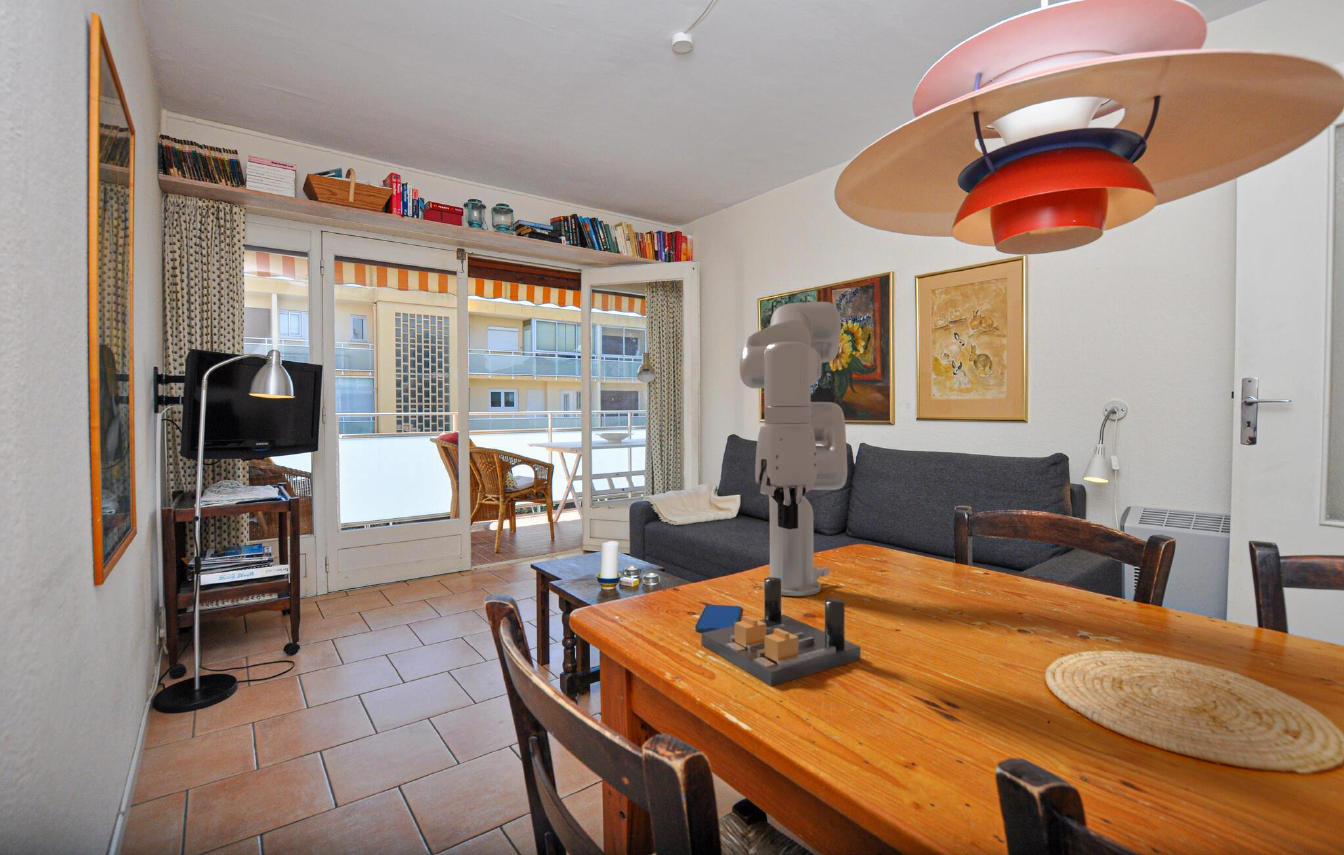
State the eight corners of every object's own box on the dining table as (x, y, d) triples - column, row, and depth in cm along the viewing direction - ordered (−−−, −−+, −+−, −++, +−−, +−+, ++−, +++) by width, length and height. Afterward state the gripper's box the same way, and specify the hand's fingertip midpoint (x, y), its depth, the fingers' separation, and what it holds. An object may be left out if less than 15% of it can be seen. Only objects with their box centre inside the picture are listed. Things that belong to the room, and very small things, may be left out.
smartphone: (742, 606, 120) (735, 630, 105) (742, 611, 120) (735, 636, 105) (706, 604, 121) (694, 628, 107) (706, 609, 121) (694, 633, 107)
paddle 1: (754, 636, 98) (754, 613, 98) (766, 642, 95) (766, 618, 95) (734, 641, 96) (734, 617, 96) (746, 647, 93) (746, 623, 93)
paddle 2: (785, 650, 92) (784, 625, 92) (798, 656, 90) (798, 631, 89) (764, 655, 90) (764, 630, 90) (777, 662, 88) (777, 636, 87)
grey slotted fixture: (780, 623, 110) (780, 575, 110) (860, 659, 94) (860, 602, 94) (698, 643, 101) (697, 590, 101) (771, 686, 85) (770, 623, 85)
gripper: (805, 416, 106) (805, 519, 107) (737, 418, 99) (738, 529, 99) (836, 416, 100) (837, 526, 100) (766, 419, 92) (767, 537, 93)
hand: (787, 527), depth 100 cm, fingers closed
